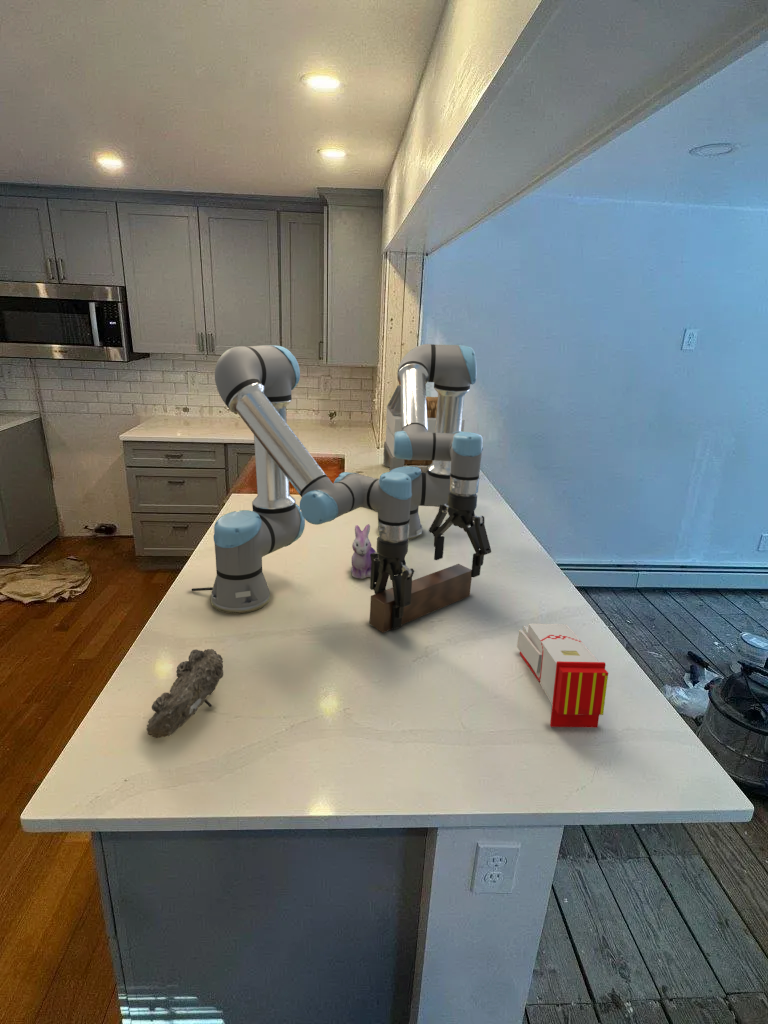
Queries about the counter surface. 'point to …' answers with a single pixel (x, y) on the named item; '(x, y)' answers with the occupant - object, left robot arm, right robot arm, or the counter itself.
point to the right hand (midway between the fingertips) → (456, 567)
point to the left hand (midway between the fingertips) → (388, 622)
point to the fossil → (186, 692)
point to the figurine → (361, 553)
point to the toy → (565, 673)
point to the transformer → (395, 425)
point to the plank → (423, 596)
